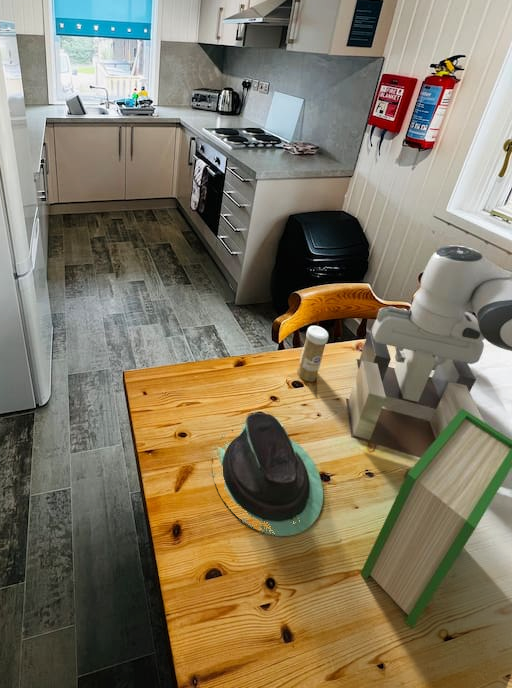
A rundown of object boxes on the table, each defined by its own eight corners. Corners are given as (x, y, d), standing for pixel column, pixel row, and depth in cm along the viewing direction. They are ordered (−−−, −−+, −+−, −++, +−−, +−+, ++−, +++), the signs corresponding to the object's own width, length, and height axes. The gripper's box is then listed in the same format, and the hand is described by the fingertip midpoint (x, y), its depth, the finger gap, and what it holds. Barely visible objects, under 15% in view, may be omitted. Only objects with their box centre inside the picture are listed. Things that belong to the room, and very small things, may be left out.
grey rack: (445, 384, 95) (462, 349, 90) (461, 418, 86) (480, 382, 82) (355, 361, 100) (366, 327, 96) (361, 392, 92) (373, 356, 87)
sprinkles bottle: (306, 384, 93) (318, 340, 88) (292, 371, 97) (303, 327, 91) (320, 378, 95) (333, 335, 89) (306, 365, 99) (318, 322, 93)
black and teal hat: (192, 434, 79) (274, 409, 86) (226, 551, 69) (317, 513, 76) (217, 418, 68) (311, 391, 75) (263, 557, 58) (366, 511, 64)
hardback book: (411, 628, 55) (475, 528, 45) (360, 573, 60) (407, 473, 51) (461, 545, 64) (523, 447, 55) (413, 503, 70) (462, 408, 60)
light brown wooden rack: (446, 429, 84) (468, 384, 78) (463, 474, 75) (490, 427, 70) (344, 401, 89) (358, 357, 84) (349, 440, 80) (366, 394, 75)
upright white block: (407, 372, 96) (423, 334, 91) (418, 402, 88) (435, 362, 84) (394, 369, 97) (408, 331, 92) (403, 398, 89) (419, 358, 84)
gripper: (383, 313, 85) (366, 361, 90) (496, 336, 79) (471, 387, 85) (377, 296, 90) (362, 343, 96) (483, 317, 84) (460, 365, 90)
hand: (414, 364), depth 90 cm, fingers open, 5 cm apart
